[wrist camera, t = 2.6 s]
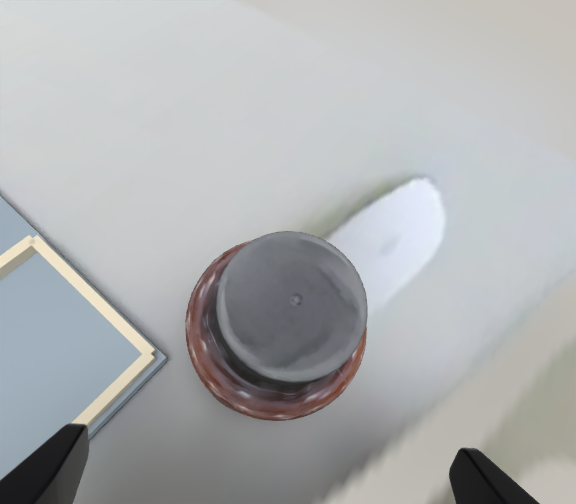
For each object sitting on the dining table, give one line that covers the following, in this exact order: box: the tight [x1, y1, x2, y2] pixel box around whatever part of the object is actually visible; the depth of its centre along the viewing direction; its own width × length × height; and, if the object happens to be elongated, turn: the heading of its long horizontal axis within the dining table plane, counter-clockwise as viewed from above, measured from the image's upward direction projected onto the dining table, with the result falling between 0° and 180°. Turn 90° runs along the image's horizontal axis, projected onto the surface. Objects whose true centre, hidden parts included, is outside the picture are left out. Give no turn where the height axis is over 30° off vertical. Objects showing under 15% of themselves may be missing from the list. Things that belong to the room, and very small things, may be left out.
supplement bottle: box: [186, 231, 367, 421], centre depth 15 cm, size 6×6×11 cm
